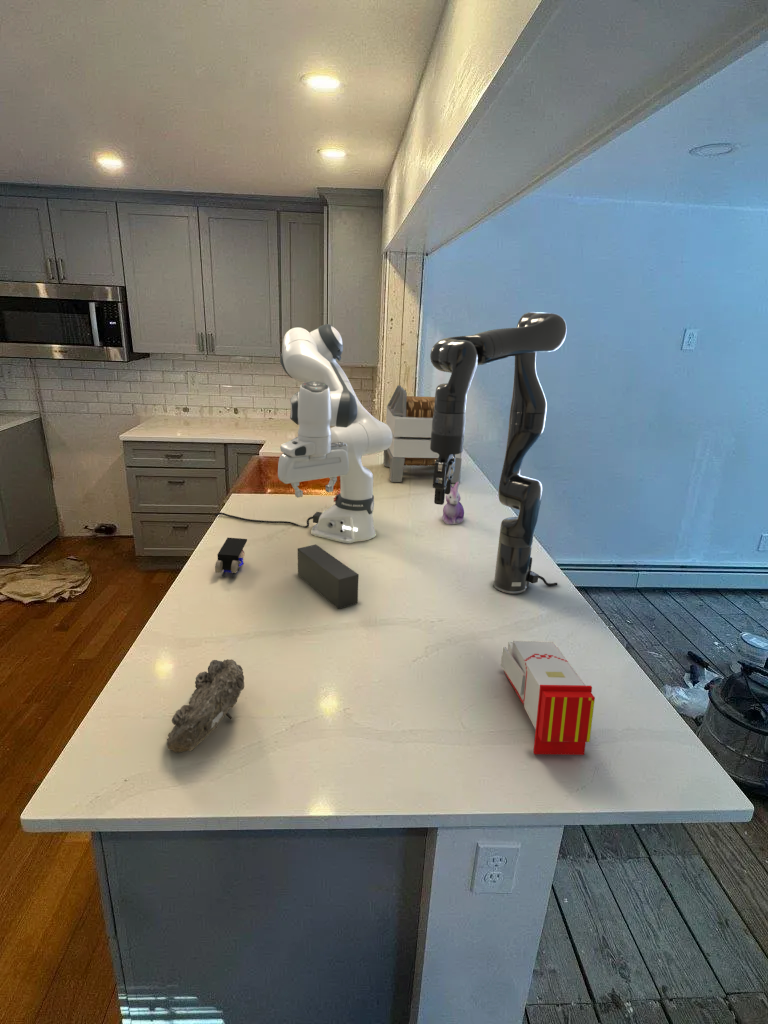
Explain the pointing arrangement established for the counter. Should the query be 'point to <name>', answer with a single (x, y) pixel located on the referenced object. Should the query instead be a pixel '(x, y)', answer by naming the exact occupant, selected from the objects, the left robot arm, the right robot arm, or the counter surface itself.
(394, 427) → the transformer
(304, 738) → the counter surface
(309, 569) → the box
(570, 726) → the toy
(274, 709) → the counter surface
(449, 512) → the figurine
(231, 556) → the black wheeled block
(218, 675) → the fossil
